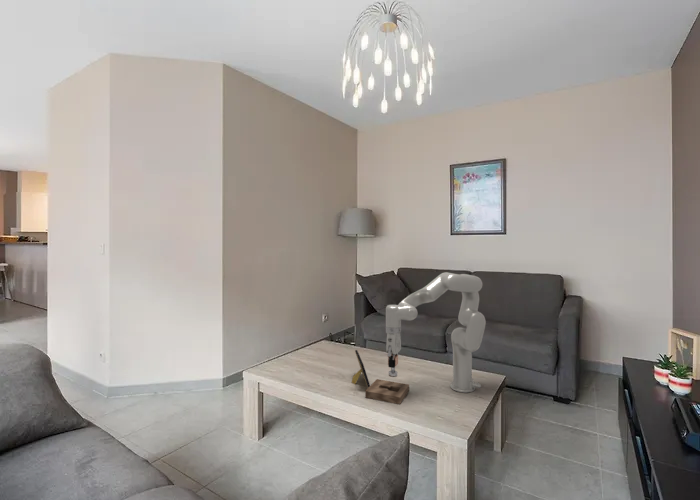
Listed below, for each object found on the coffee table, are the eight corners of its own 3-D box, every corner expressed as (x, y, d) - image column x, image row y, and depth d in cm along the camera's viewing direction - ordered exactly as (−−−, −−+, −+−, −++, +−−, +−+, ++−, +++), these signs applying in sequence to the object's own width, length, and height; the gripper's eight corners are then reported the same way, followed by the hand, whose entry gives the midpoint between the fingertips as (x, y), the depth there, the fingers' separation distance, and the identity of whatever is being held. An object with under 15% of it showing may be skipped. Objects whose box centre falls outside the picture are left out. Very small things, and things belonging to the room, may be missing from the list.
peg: (398, 374, 178) (398, 355, 178) (395, 377, 174) (395, 357, 174) (390, 373, 180) (390, 353, 180) (387, 376, 176) (387, 356, 176)
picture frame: (371, 391, 183) (368, 363, 182) (354, 394, 182) (351, 366, 181) (364, 374, 206) (361, 349, 205) (349, 376, 205) (346, 351, 204)
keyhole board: (409, 391, 182) (409, 384, 182) (400, 404, 168) (399, 397, 168) (376, 385, 190) (376, 379, 190) (365, 397, 176) (365, 390, 176)
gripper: (395, 334, 167) (395, 372, 168) (405, 326, 182) (405, 361, 183) (380, 332, 170) (380, 370, 171) (391, 325, 186) (391, 359, 186)
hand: (393, 365), depth 177 cm, fingers closed on peg, 4 cm apart
